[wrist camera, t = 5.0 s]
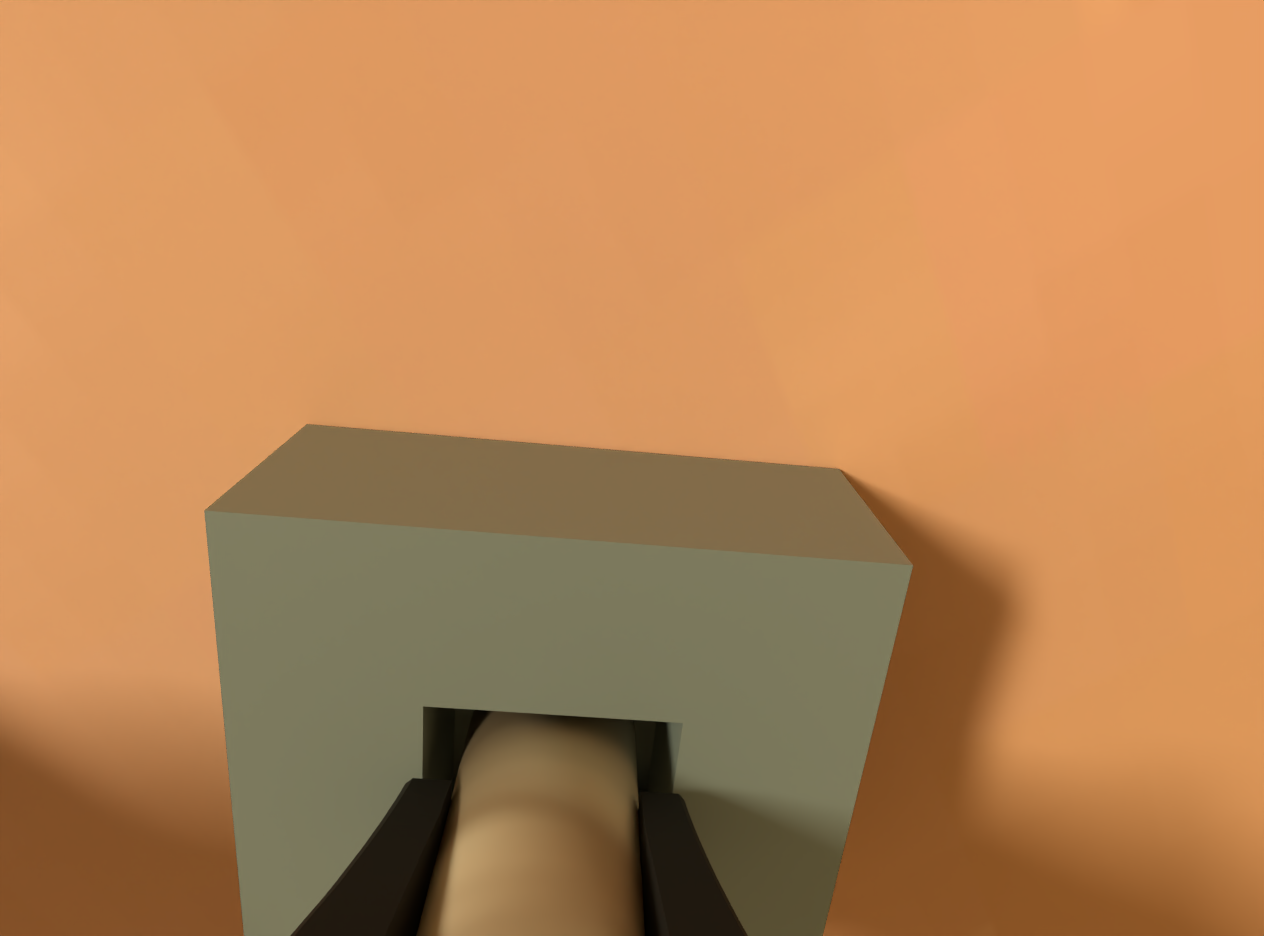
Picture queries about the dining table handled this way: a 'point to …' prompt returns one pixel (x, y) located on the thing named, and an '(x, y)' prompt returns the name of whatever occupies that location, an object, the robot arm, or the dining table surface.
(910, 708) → the dining table surface
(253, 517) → the socket block
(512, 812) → the maple peg
